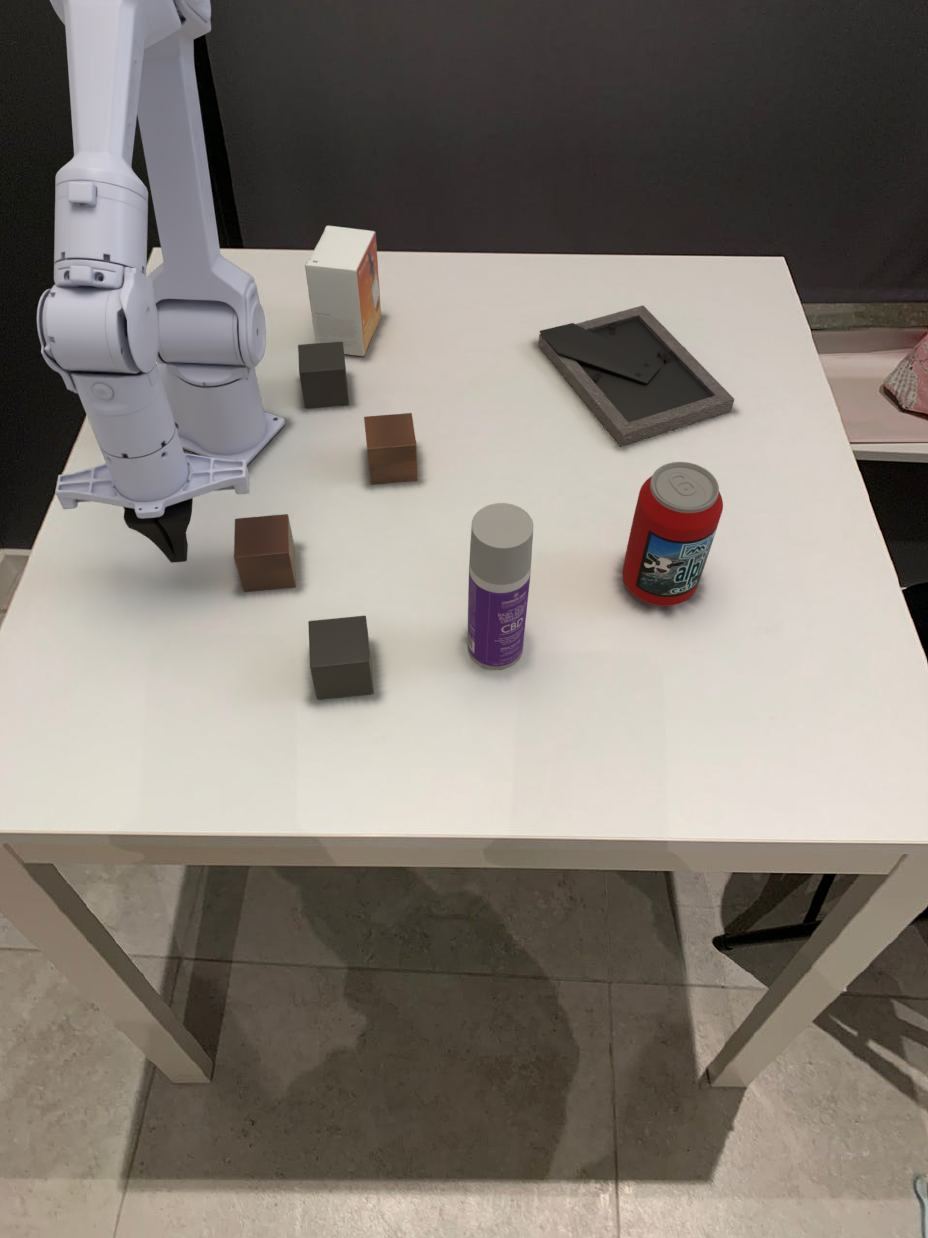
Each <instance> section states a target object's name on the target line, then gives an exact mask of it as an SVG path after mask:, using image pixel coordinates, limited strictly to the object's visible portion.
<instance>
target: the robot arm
mask: <svg viewBox="0 0 928 1238" xmlns="http://www.w3.org/2000/svg"><path fill="white" fill-rule="evenodd" d="M49 2H50V3H51V6H52V8H53V10H54V12H55V13H56V15H57V16H58V19H59V20H60V21H61V22H62V23H63V25H64V28H65V39H66V40H65V41H66V57H67V67H68V68H67V70H68V72H67V73H68V84H69V85H68V88H69V98H70V99H69V100H70V101H69V102H70V113H71V114H70V115H71V129H72V142H73V157H72V158H71V159H70V160H69V161H68V162H67V163H66V164H64V165H63V166H62V167H60V169H59V170H58V171H57V172H56V174H55V179H54V180H55V183H54V184H55V188H54V189H55V193H54V199H55V200H54V248H53V249H54V250H53V251H54V252H53V282H54V284H53V285H52V287H51V288H48V289H46V290H45V291H43V293H42V294H41V296H40V298H39V301H38V304H37V310H36V328H37V329H36V330H37V334H38V338H39V342H40V346H41V347H40V348H41V350H40V353H41V355H42V358H43V359H44V361H45V363H46V364H47V366H48V367H50V369H52V371H54V372H56V373H58V374H59V375H60V376H61V377H62V380H63V382H64V385H65V387H66V389H67V391H70V392H73V393H74V394H78V396H79V399H80V402H81V404H82V408H83V410H84V412H85V414H86V417H87V420H88V422H89V425H90V427H91V429H92V432H93V434H94V438H95V439H96V442H97V445H98V447H99V450H100V452H101V455H102V457H103V459H104V462H105V463H102V464H99V465H97V466H93V467H90V468H87V469H83V470H80V471H76V472H71V473H65V474H63V473H62V474H58V476H57V481H56V485H55V492H54V493H55V495H56V497H57V499H58V501H59V504H60V506H61V508H62V510H72V509H73V510H75V509H76V508H78V507H79V506H78V505H79V503H87V502H94V503H99V504H105V505H112V506H117V507H122V508H123V509H124V511H123V520H124V523H125V524H126V526H127V528H129V529H130V530H133V531H135V532H137V533H139V534H141V535H142V536H144V537H145V538H146V539H148V540H149V541H150V542H152V543H153V544H154V545H155V546H156V547H157V548H158V549H159V550H160V551H161V552H162V554H164V556H165V558H166V559H167V560H168V561H169V562H170V563H171V564H173V563H174V564H175V563H186V562H187V561H188V553H189V552H188V551H189V544H188V543H189V542H188V537H187V536H188V535H187V532H188V531H187V530H188V528H189V526H190V523H191V519H192V514H193V505H194V504H193V502H194V501H193V500H194V498H197V497H200V496H204V495H206V494H209V493H211V492H221V491H232V490H234V492H235V494H236V495H248V494H250V488H251V487H250V486H251V484H250V481H251V479H250V478H251V477H250V473H249V469H248V465H249V463H250V462H251V461H252V460H253V459H254V458H255V457H256V456H257V455H258V454H259V453H260V452H261V451H262V449H263V448H264V447H265V446H266V445H267V444H268V443H269V442H270V441H271V439H272V438H274V436H275V435H276V434H277V433H278V432H279V431H280V430H281V429H282V428H283V427H284V426H285V425H286V422H285V421H286V420H285V419H284V418H283V417H281V416H278V415H275V414H273V413H270V412H267V411H265V409H264V405H263V400H262V395H261V390H260V386H259V380H258V375H257V372H256V367H258V366H259V364H260V362H262V360H263V359H264V356H265V353H266V352H265V351H266V346H267V345H266V344H267V326H266V317H265V311H264V308H263V306H262V304H261V300H260V296H259V290H258V285H257V283H256V279H255V277H254V276H253V275H251V274H250V273H249V272H247V271H246V270H245V269H243V268H241V267H240V266H238V265H236V264H234V263H233V262H232V261H230V260H229V259H228V258H226V257H225V256H224V255H223V254H222V253H221V249H220V247H221V246H220V242H219V234H218V226H217V220H216V213H215V205H214V204H215V203H214V197H213V192H212V183H211V176H210V169H209V161H208V154H207V146H206V140H205V133H204V126H203V119H202V112H201V105H200V104H201V103H200V96H199V90H198V82H197V75H196V68H195V56H194V55H195V51H194V50H195V47H194V46H195V45H194V40H195V39H197V38H200V37H202V36H204V35H206V34H208V33H211V31H212V23H211V17H212V5H211V0H49ZM137 120H138V126H139V131H140V137H141V142H142V143H141V144H142V149H143V154H144V155H143V156H144V160H145V164H146V171H147V176H148V182H149V188H150V194H151V199H152V204H153V211H154V216H155V221H156V227H157V232H158V233H157V234H158V238H159V245H160V250H161V254H162V261H163V262H162V263H160V264H159V265H158V266H157V267H155V269H153V270H152V271H151V272H149V274H148V275H147V265H148V264H147V263H148V262H147V261H148V260H147V258H148V220H149V219H148V217H149V215H148V214H149V191H148V188H147V186H146V185H145V183H143V181H142V180H141V179H140V177H138V175H137V174H136V173H135V172H134V170H133V168H132V165H133V164H132V163H133V154H134V145H135V138H136V137H135V136H136V127H137ZM184 450H186V451H189V452H191V453H187V452H184Z"/></svg>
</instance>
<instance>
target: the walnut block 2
mask: <svg viewBox="0 0 928 1238" xmlns="http://www.w3.org/2000/svg"><path fill="white" fill-rule="evenodd" d="M413 418H414V417H413V413H412V412H404V413H394V414H381V415H367V416H363V422H364V423H363V424H364V433H365V441H366V442H365V443H366V451H367V452H366V453H367V461H368V472H369V483H370V485H383V484H393V483H404V482H405V483H406V482H417V481H419V474H418V471H419V470H418V449H417V439H416V433H415V432H416V431H415V426H414V419H413Z"/></svg>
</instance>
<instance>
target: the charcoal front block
mask: <svg viewBox="0 0 928 1238" xmlns="http://www.w3.org/2000/svg"><path fill="white" fill-rule="evenodd" d="M367 621H368V620H367V616H366V615H356V616H345V617H335V618H326V619H325V618H324V619H316V620H308V622H307V624H308V650H309V651H308V652H309V670H310V673H311V679H312V684H313V688H314V692H315V696H316V699H317V700H327V699H337V698H346V697H355V696H364V695H366V696H367V695H373V694H374V693H375V691H374V690H375V689H374V680H373V667H372V657H371V645H370V637H369V629H368V622H367Z"/></svg>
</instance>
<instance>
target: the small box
mask: <svg viewBox="0 0 928 1238" xmlns="http://www.w3.org/2000/svg"><path fill="white" fill-rule="evenodd" d="M377 245H378V244H377V233H376V231H374V230H368V229H361V228H352V227H344V226H343V227H342V226H334V225H326V226H325V228H324V230H323V233H322V234H321V236H320V238H319V240H318V242H317V244H316V245H315V247H314V249H313V251H312V253H311V254H310V257H309V258H308V259H307V261H306V262H305V264H304V269H305V278H306V284H307V290H308V291H307V292H308V299H309V307H310V311H311V312H310V313H311V321H312V328H313V334H314V341H315V342H314V343H315V344H316V343H330V342H343V348H344V355H350V356H358V357H365V356H366V353H367V350H368V347H369V345H370V343H371V340H372V338H373V336H374V334H375V332H376V330H377V327H378V325H379V322H380V320H381V318H382V307H381V306H382V305H381V294H380V293H381V292H380V277H379V262H378V261H379V260H378V248H377V247H378V246H377Z"/></svg>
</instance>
